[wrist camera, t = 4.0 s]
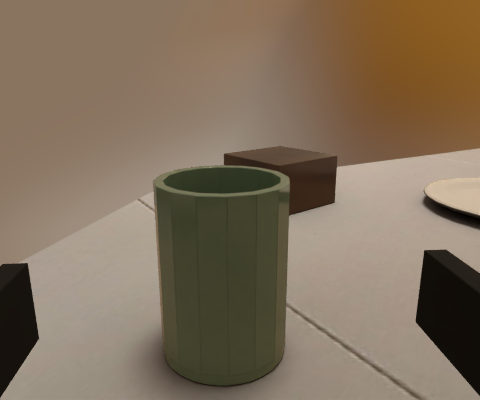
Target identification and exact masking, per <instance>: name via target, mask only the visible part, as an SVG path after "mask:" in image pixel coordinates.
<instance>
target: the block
mask: <svg viewBox="0 0 480 400" xmlns="http://www.w3.org/2000/svg"><path fill="white" fill-rule="evenodd" d="M224 166H248V167H258V168H265V169H269V170H273V171H278V172H280V173H282V174H284V175H286V176H288V177H289V178H290V196H289V215H290V214H294V213H297V212H301V211H304V210H308V209H312V208H315V207H319V206H322V205H326V204H330V203H333V202H335V186H336V170H337V156H336V155H331V154H325V153H319V152H312V151H306V150H300V149H294V148H288V147H282V146H279V147H272V148H264V149H256V150H250V151H242V152H234V153H226V154H224Z"/></svg>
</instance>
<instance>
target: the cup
mask: <svg viewBox="0 0 480 400" xmlns="http://www.w3.org/2000/svg"><path fill="white" fill-rule="evenodd" d="M153 187H154V205H155V221H156V238H157V255H158V272H159V289H160V306H161V323H162V339H163V344H164V355H165V358H166V360H167V362H168V364H169V365H170V366H171V368H172V369H173V370H174V371H176V372H177V373H178V374H180V375H181V376H183V377H185V378H187V379H189V380H192V381H195V382H198V383H202V384H207V385H219V386H226V385H236V384H242V383H246V382H250V381H253V380H255V379H258V378H260V377H262V376H264V375H266V374H267V373H269V372H270V371H271V370H272V369H274V368H275V367H276V366H277V364H278V363H279V362H280V360H281V358H282V356H283V353H284V346H285V322H286V290H287V259H288V228H289V196H290V178H289V177H288V176H286V175H284V174H282V173H280V172H278V171H273V170H269V169H265V168H258V167H248V166H224V165H220V166H218V165H217V166H200V167H191V168H185V169H178V170H174V171H171V172H167V173H164V174H162V175H160V176H158V177H157V178H156V179H155V180H153Z"/></svg>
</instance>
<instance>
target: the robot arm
mask: <svg viewBox="0 0 480 400" xmlns="http://www.w3.org/2000/svg"><path fill="white" fill-rule="evenodd" d="M416 323H417V324H418V325H419V326H420V327H421V329H422V330H423V331H424V332H425V333H426V334H427V336H428V337H429V338H430V339H431V340H432V341H433V342H434V344H435V345H436V346H437V347H438V348H439V349H440V351H441V352H442V353H443V354H444V355H445V356H446V357H447V359H448V360H449V361H450V362H451V363H452V364H453V366H454V367H455V368H456V369H457V370H458V371H459V372H460V374H461V375H462V376H463V377H464V378H465V379H466V381H467V382H468V383H469V384H470V385H471V386H472V387H473V389H474V390H475V391H476V392H477V393H478V394H479V396H480V273H478V272H477V271H476V270H474V269H473V268H471V267H470V266H468V265H467V264H466V263H464V262H463V261H461V260H460V259H459V258H457V257H456V256H454V255H453V254H451V253H450V252H449V251H447V250H424V257H423V266H422V274H421V282H420V290H419V298H418V306H417V314H416ZM38 339H39V335H38V329H37V322H36V316H35V309H34V302H33V296H32V289H31V283H30V276H29V269H28V263H21V264H2V265H1V266H0V397H1V396H2V394H3V393H4V391H5V390H6V388H7V387H8V385H9V383H10V382H11V380H12V379H13V377H14V376H15V374H16V373H17V371H18V370H19V368H20V367H21V365H22V364H23V362H24V361H25V359H26V358H27V356H28V355H29V353H30V352H31V350H32V348H33V347H34V345H35V344H36V342H37V341H38Z"/></svg>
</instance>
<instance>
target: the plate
mask: <svg viewBox="0 0 480 400" xmlns="http://www.w3.org/2000/svg"><path fill="white" fill-rule="evenodd" d="M424 193H425V195H426V196H427V198H429V199H430V200H432V201H433V202H435V203H437V204H438V205H441V206H443V207H446V208H449V209H451V210H454V211H457V212H460V213H463V214H466V215H468V216H471V217H474V218H478V219H480V178H458V179H446V180H441V181H436V182H433V183H431V184H428V185H427V186H426V187H425V189H424Z"/></svg>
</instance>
